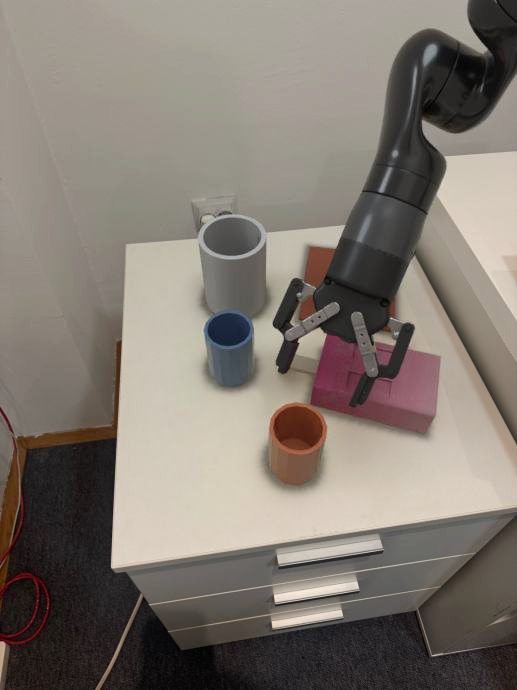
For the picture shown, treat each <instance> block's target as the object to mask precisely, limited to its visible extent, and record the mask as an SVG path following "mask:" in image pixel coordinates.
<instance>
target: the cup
mask: <svg viewBox="0 0 517 690" xmlns="http://www.w3.org/2000/svg"><path fill="white" fill-rule="evenodd" d="M197 241H198V243H197V244H198V250H199V257H200V265H201V274H202V279H203V288H204V296H205V301H206V305H207V307H208V309H209V310H210V312H212V313H213V314H216V313H218V312H221V311H227V310H232V311H239V312H241V313H243V314H245V315H247V316H248V318H250V317H253V316H255V315H256V314H258V313H259V312H260V311H261V310H262V308H263V307H264V305H265V303H266V299H267V293H266V292H267V231H266V228H265V227H264V226H263V224H262V223H261V222H259V221H258V220H257V219H255V218H253V217H251V216H247V215H243V214H236V213H231V214H230V213H229V214H223V215H219V216H216V217H214V218H212V219H209V221H207V222H205V223H204V224H203V225H202V226H201V228H200V230H199V231H198V235H197Z"/></svg>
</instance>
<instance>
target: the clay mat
mask: <svg viewBox="0 0 517 690" xmlns="http://www.w3.org/2000/svg"><path fill="white" fill-rule="evenodd" d="M335 250H336V248H331V247H330V248H329V247H320V246H314V245H313V246H311V245H309V247H308V255H307V260H306V261H307V262H306V269H305V274H304V280H305V281H306V282H307V283H308V284H310V285H312V286H314V287H316V288H317V287H318V286H320V284H321V283H322V282H323V280H324V277H325V275H326V272H327V270H328V267H329V265H330V262H331V260H332V257H333V255H334V252H335ZM315 313H316V311H315V306H314V302H313V296H312V295H311V296H309V297H308V298H307V299H306V300H305V301H300V307H299V313H298V321H303V320H305V319H306V318H308V317H310V316H311V315H313V314H315ZM390 317H391V318H394V319H396V297H395V298H394V301H393V303H392V305H391V308H390ZM381 331H383V332H390V333H391V328H390V327H388V326H387V327H385V328H384V329H382V330H381Z"/></svg>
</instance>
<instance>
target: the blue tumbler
mask: <svg viewBox="0 0 517 690" xmlns="http://www.w3.org/2000/svg"><path fill="white" fill-rule="evenodd" d="M203 335H204V342H205V349H206V356H207V363H208V369H209V374H210V376H211V378H212V379H213V381H215V382H216V383H217V384H219V385H221V386H223V387H228V388H229V387H230V388H232V387H234V388H235V387H239V386H241V385H244V384H245V383H247V382H248V381H249V380H250V379H251V378H252V377H253V375H254V372H255V327H254V324H253V321H252V320H251V318H250V317H248V316H247V315H245V314H243V313H241V312H239V311H232V310H227V311H221V312H218V313H216V314H215V313H213V315H211V316H210V317H209V318H208V319H207V320H206V321H205V324H204V326H203Z"/></svg>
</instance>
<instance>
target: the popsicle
mask: <svg viewBox="0 0 517 690" xmlns="http://www.w3.org/2000/svg"><path fill="white" fill-rule="evenodd" d="M374 342H375V346H376V350H377V356H378V360H379V363H380V364H383V365H388V363H389V360H390V357H391V355H392V352H393V349H394V347H395V344H389V343H385V342H381V341H375V340H374ZM441 360H442V356H441V355H438V354H434V353H429V352H424V351H420V350H416V349H411V348H408V350H407V352H406V355H405V358H404V360H403V363H402V366H401V368H400V371H399V373H398V375H397V376H396V378H394V379H389V378H377V379H376V380H375V383H374V385H373V387H372V389H371V392H370V394H369V396H368V398H367V400H366V402H365V403H364V404H362V405H359V404H358V405H357V406H356V408H353V407H351V406H349V403H350V401H351V398H352V396H353V394H354V392H355V389H356V387H357V385H358V382H359V380H360V378H361V375H362V374H363V373H364V372H366V370H365V366H364V362H363V358H362V356H361V353H360V350H359V346H358V343H355V344H352V343H351V344H349V343H347V342H344V341H343V340H341V339H340V338H339V337H337V336H332V335H328V334H326V333H325V338H324V342H323V346H322V349H321V354H320V357H319V359H317V358H312V357H309V356H304V355H301V354H297V353H296V354H295V356H294V359H293V361H292V364H291V366H290V369H289V371H290V372H295V373H298V374H302V375H303V374H304V375H307V376H311V377H314V379H313V382H312V388H311V393H310V400H309V405H310V406H312V407H317V408H322V409H326V410H330V411H333V412H337V413H342V414H346V415H350V416H354V417H357V418H361V419H364V420H365V419H366V420H370V421H374V422H377V423H381V424H385V425H390V426H394V427H397V428H401V429H405V430H410V431H413V432H418V433H421V434H426V433H427V431H428V430H429V428H430V426H431V425H432V423H433V421H434V420H435V418H436V416H437V407H438V397H439V396H438V395H439V383H440V373H441V372H440V371H441Z"/></svg>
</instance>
